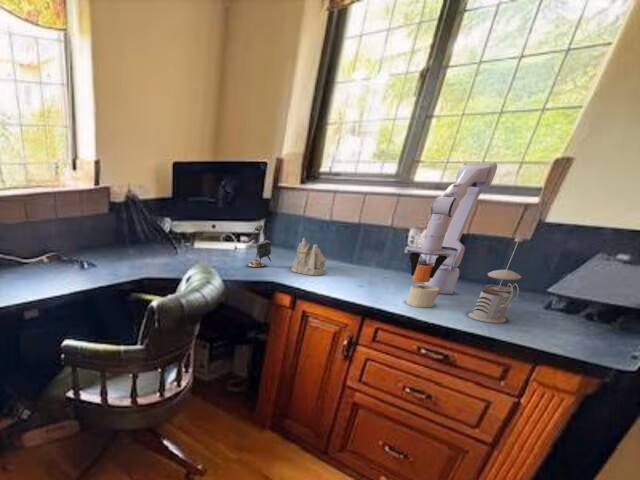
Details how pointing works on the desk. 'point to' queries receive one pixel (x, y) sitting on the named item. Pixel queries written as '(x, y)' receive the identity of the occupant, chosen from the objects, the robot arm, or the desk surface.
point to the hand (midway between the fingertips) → (421, 276)
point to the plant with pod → (261, 249)
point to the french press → (496, 296)
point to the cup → (423, 272)
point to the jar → (422, 295)
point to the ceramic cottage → (308, 260)
